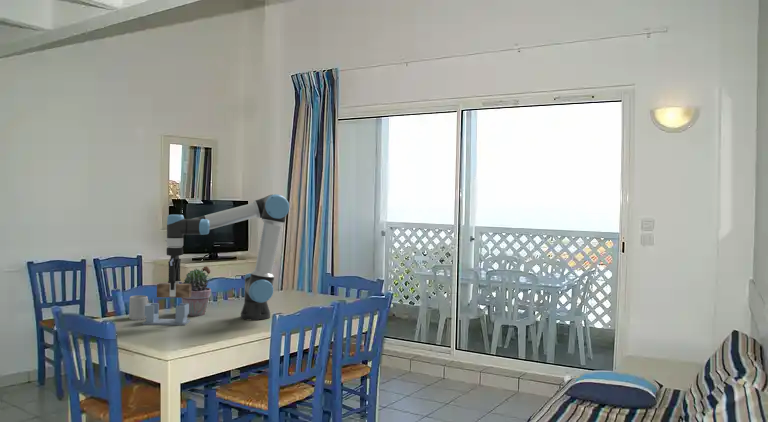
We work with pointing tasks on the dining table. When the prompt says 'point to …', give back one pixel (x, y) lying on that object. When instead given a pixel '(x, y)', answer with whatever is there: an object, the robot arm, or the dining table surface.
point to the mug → (137, 307)
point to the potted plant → (197, 292)
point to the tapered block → (181, 290)
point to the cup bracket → (153, 319)
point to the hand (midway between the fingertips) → (174, 295)
